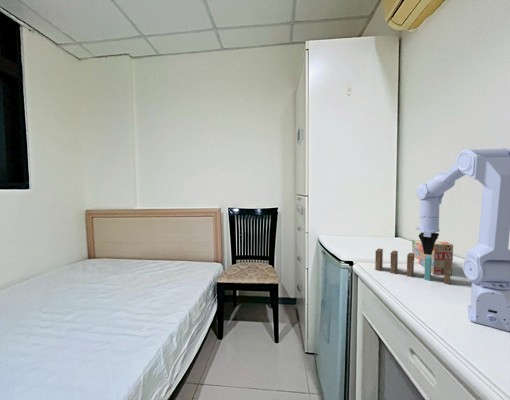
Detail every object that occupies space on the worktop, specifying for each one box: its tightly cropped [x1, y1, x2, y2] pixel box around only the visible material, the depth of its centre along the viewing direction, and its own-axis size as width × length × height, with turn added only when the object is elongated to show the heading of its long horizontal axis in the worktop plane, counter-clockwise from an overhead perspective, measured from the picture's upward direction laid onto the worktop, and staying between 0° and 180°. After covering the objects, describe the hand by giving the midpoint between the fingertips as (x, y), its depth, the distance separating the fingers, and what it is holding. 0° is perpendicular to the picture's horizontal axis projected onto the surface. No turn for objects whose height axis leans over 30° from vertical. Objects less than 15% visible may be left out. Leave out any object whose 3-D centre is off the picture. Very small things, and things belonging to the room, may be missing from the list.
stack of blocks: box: [411, 237, 454, 277], centre depth 100 cm, size 21×6×12 cm, turn 166°
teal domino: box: [423, 255, 432, 281], centre depth 87 cm, size 2×5×8 cm, turn 140°
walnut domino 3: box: [406, 252, 415, 278], centre depth 91 cm, size 2×5×8 cm, turn 140°
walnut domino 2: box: [390, 250, 399, 275], centre depth 94 cm, size 2×5×8 cm, turn 140°
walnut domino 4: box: [443, 258, 451, 285], centre depth 84 cm, size 2×5×8 cm, turn 140°
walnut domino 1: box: [374, 248, 384, 272], centre depth 98 cm, size 2×5×8 cm, turn 140°
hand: (428, 253), depth 87 cm, fingers open, 3 cm apart
